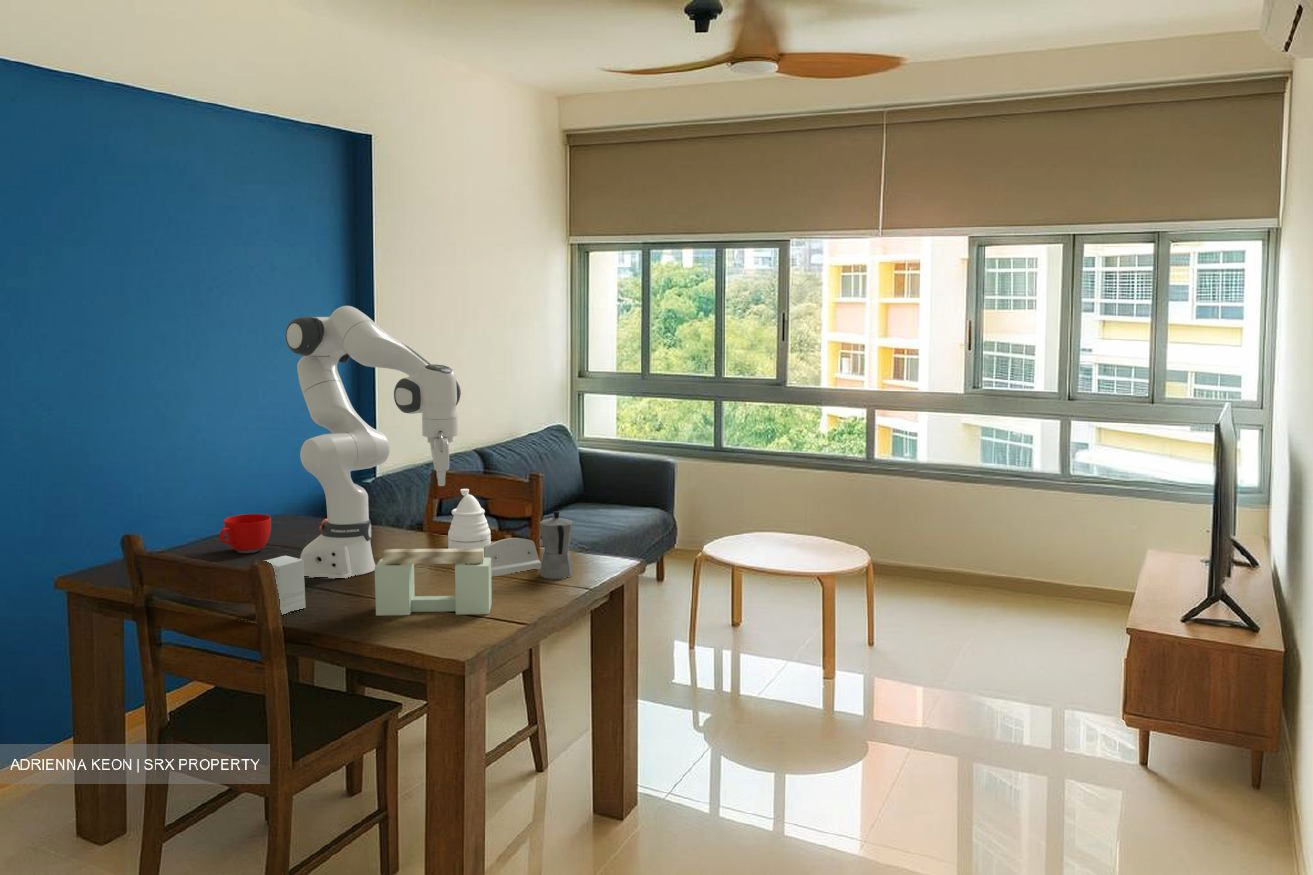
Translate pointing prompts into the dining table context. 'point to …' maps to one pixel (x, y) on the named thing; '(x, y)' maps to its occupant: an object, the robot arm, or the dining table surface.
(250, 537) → the ceramic cup
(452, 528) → the honey pot
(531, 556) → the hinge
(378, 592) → the posts
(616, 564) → the dining table surface
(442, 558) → the rail
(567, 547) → the coffeepot
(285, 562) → the supplement box
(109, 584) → the dining table surface
